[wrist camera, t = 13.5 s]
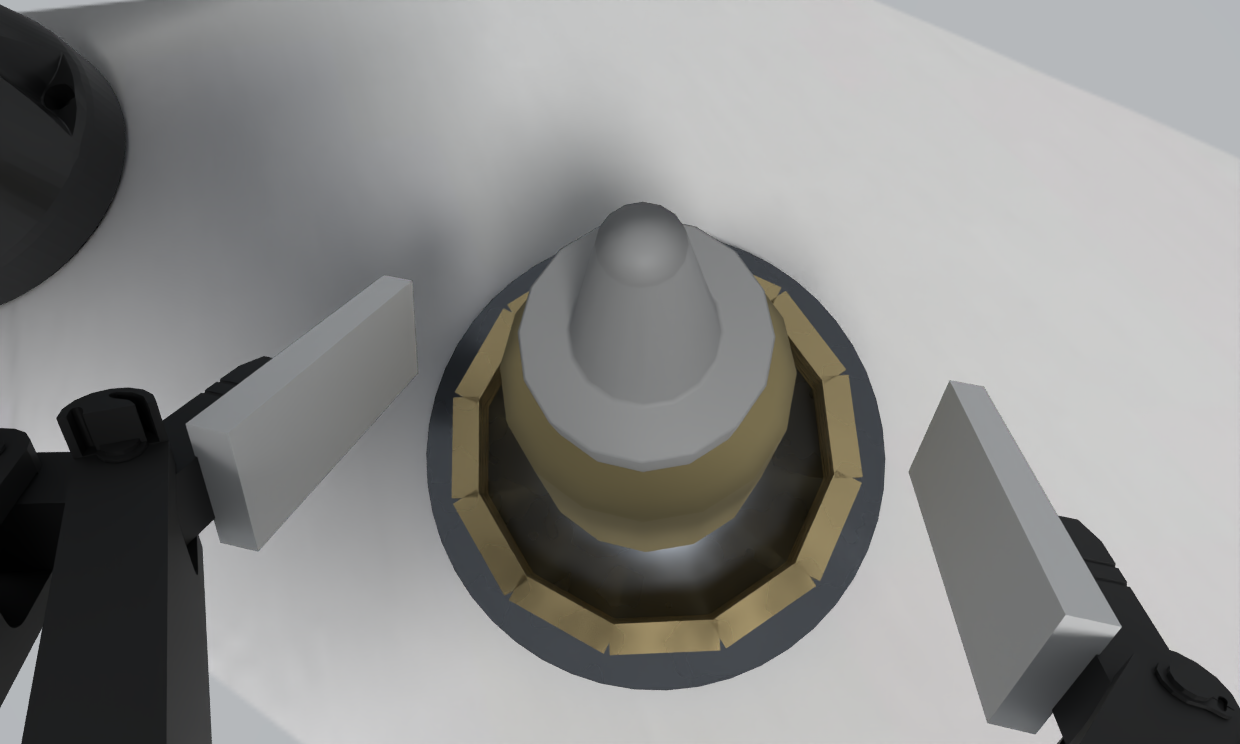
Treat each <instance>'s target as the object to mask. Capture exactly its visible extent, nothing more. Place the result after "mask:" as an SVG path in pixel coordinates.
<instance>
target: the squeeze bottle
mask: <svg viewBox="0 0 1240 744" xmlns="http://www.w3.org/2000/svg"><path fill="white" fill-rule="evenodd" d="M500 372H501V380H502V388H503V397H504V405H505V413H506V422H507V424H508V426H509V427H510V429H511V431H512V433H513V434H514V436H515V438H516V440H517V441H518V443H519V445H520V446H521V448H522V450H523V452H524V453H525V455H526V457H527V459H528V460H529V462H530V464H531V465H532V467H533V469H534V471H535V472H536V474H537V476H538V477H539V479H540V480H541V482H542V484H543V485H544V487H545V488H546V490H547V492H548V493H549V495H550V496H551V498H552V500H553V501H554V503H555V504H556V506H557V508H558V509H559V511H560V512H561V513H562V514H564V515H565V516H566V517H568V518H569V519H570V520H572V521H573V522H574V523H576V524H577V525H578V526H580V527H581V528H582V529H584V530H585V531H586V532H588V533H589V534H590V535H592V536H593V537H594V538H596V539H597V540H598V541H602V542H606V543H610V544H614V545H618V546H623V547H627V548H631V549H635V550H639V551H643V552H650V551H656V550H662V549H667V548H673V547H679V546H685V545H691V544H695V543H696V542H698V541H699V540H701V539H702V538H704V537H705V536H707V535H708V534H710V533H712V532H713V531H715V530H716V529H718V528H719V527H721V526H722V525H724V524H725V523H727V522H729V521H730V520H732V519H733V518H734V517H735V516H736V514H737V513H738V511H739V510H740V508H741V507H742V505H743V504H744V502H745V501H746V499H747V498H748V496H749V495H750V493H751V492H752V490H753V489H754V487H755V486H756V484H757V483H758V481H759V480H760V478H761V476H762V475H763V473H764V471H765V469H766V467H767V465H768V464H769V462H770V460H771V458H772V456H773V454H774V452H775V451H776V449H777V447H778V445H779V443H780V441H781V439H782V438H783V436H784V434H785V432H786V430H787V426H788V420H789V414H790V408H791V403H792V397H793V391H794V386H795V380H796V374H797V372H796V368H795V364H794V360H793V356H792V351H791V347H790V343H789V339H788V335H787V331H786V326H785V322H784V318H783V317H782V316H781V314H780V313H779V311H778V310H777V309H776V307H775V306H774V305H773V303H772V302H771V301H770V299H769V298H768V296H767V295H766V294H765V291H764V289H763V288H762V286H761V285H760V284H759V282H758V281H757V279H756V278H755V277H754V275H753V274H752V273H751V271H750V270H749V269H748V267H747V266H746V264H745V263H744V262H743V260H742V259H741V258H740V256H739V255H738V254H737V252H736V251H734V250H733V249H731V248H729V247H728V246H726V245H725V244H723V243H721V242H720V241H718V240H716V239H715V238H713V237H712V236H710V235H708V234H707V233H705V232H704V231H702V230H700V229H699V228H697V227H695V226H690V225H685V224H682V223H681V222H680V220H679V219H678V217H677V216H676V215H675V214H674V213H672V212H671V211H669V210H667V209H666V208H664V207H662V206H661V205H656V204H651V203H646V202H640V203H634V204H628V205H624V206H623V207H621V208H619V209H617V210H616V211H614V212H612V213H611V214H609V216H608V217H607V218H606V219H605V221H604V222H603V223H602V225H601V226H599V227H598V228H596V229H594V230H593V231H591V232H589V233H587V234H586V235H584V236H582V237H581V238H579V239H577V240H576V241H574V242H572V243H570V244H569V245H567V246H565V247H564V248H562V249H560V250H559V251H558V253H557V254H556V255H555V256H554V258H553V259H552V260H551V262H550V263H549V264H548V265H547V267H546V268H545V269H544V270H543V272H542V273H541V274H540V276H539V277H538V278H537V279H536V281H535V282H534V283H533V284H532V286H531V287H530V290H529V294H528V297H527V299H526V301H525V302H524V303H523V304H522V306H521V307H520V308H519V310H518V311H517V312H516V313H515V316H514V319H513V323H512V326H511V330H510V333H509V337H508V340H507V344H506V347H505V351H504V354H503V358H502V361H501V365H500Z"/></svg>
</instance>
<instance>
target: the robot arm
mask: <svg viewBox="0 0 1240 744" xmlns="http://www.w3.org/2000/svg"><path fill="white" fill-rule="evenodd" d="M124 155H125V126H124V120H123V115H122V111H121V108H120V105H119V102H118V100H117V98H116V95H115V93H114V92H113V90H112V88H111V86H110V85H109V83H108V82H107V81H106V79H105V78H104V77H103V76H102V74H101V73H100V72H99V71H98V70H97V69H96V68H95V67H94V66H93V65H92V64H90V63H89V62H88V61H87V60H86V59H84V58H83V57H82V56H81V55H80V54H78V53H77V52H76V51H75V50H74V49H72V48H71V47H70V46H69V45H68V44H66V43H65V42H64V41H63V40H62V39H60V38H59V37H58V36H57V35H55V34H54V33H53V32H51V31H49V30H48V29H46V28H45V27H43V26H42V25H40V24H39V23H37V22H35V21H33V20H31V19H29V18H28V17H25V16H23V15H21V14H19V13H17V12H15V11H12V10H10V9H8V8H6V7H4V6H2V5H0V305H2V304H4V303H7V302H9V301H11V300H13V299H15V298H17V297H19V296H21V295H22V294H24V293H26V292H27V291H29V290H31V289H32V288H34V287H35V286H37V285H38V284H40V283H41V282H43V281H44V280H46V279H47V278H48V277H49V276H51V275H52V274H53V273H55V272H56V271H57V270H58V269H59V268H60V267H62V266H63V265H64V264H65V263H66V262H67V261H68V260H69V259H70V258H71V257H72V256H73V255H74V254H75V253H76V252H77V251H78V250H79V249H80V247H81V246H82V245H83V244H84V243H85V242H86V240H87V239H88V238H89V237H90V235H91V234H92V233H93V231H94V230H95V228H96V227H97V225H98V224H99V222H100V221H101V219H102V217H103V216H104V214H105V212H106V210H107V208H108V207H109V205H110V203H111V200H112V198H113V196H114V194H115V191H116V188H117V185H118V183H119V179H120V176H121V172H122V167H123V162H124ZM417 374H418V366H417V349H416V332H415V316H414V299H413V282H412V280H408V279H402V278H397V277H392V276H386V275H383V276H382V277H380V278H379V279H378V280H376V281H375V282H374V283H372V284H371V285H370V286H368V287H367V288H366V289H364V290H363V291H362V292H360V293H359V294H358V295H356V296H355V297H354V298H352V299H351V300H350V301H348V302H347V303H346V304H344V305H343V306H342V307H340V308H339V309H338V310H336V311H335V312H334V313H332V314H331V315H330V316H328V317H327V318H326V319H324V320H323V321H322V322H320V323H319V324H318V325H316V326H315V327H314V328H312V329H311V330H310V331H308V332H307V333H306V334H304V335H303V336H302V337H300V338H299V339H298V340H296V341H295V342H294V343H292V344H291V345H290V346H288V347H287V348H286V349H284V350H283V351H282V352H281V353H279V354H278V355H277V356H275V357H274V358H270V357H265V356H263V357H260V358H258V359H255V360H253V361H250V362H248V363H245V364H243V365H240V366H238V367H237V368H235V369H234V370H233V371H231V372H230V373H228V374H227V375H226V376H224V377H223V378H221V379H220V382H216V383H214V384H213V385H212V386H210V387H209V388H207V389H206V390H205V393H200V394H199V395H198V396H196V397H195V398H194V399H192V400H191V401H189V402H188V403H187V404H185V405H184V406H182V407H181V408H180V409H178V410H177V411H175V412H174V413H173V414H171V415H170V416H168V417H167V418H166V419H164V420H163V421H162V418H161V415H160V412H159V409H158V406H157V403H156V400H155V398H154V396H153V394H151V393H149V392H147V391H145V390H143V389H135V388H116V389H108V390H103V391H99V392H95V393H91V394H89V395H86V396H84V397H81V398H79V399H77V400H74V401H73V402H72V403H70V404H69V405H67V406H66V407H64V408H63V409H62V410H61V412H60V413H59V415H58V416H57V418H56V419H57V421H58V424H59V426H60V429H61V431H62V433H63V436H64V438H65V440H66V443H67V445H68V447H69V450H70V452H38V453H36V451H35V449H34V447H33V445H32V442H31V440H30V438H29V437H28V435H27V434H26V433H25V432H22V431H20V430H17V429H9V428H0V707H1V705H2V703H3V701H4V699H5V697H6V696H7V694H8V692H9V690H10V688H11V686H12V684H13V682H14V680H15V678H16V677H17V674H18V672H19V671H20V669H21V667H22V665H23V663H24V661H25V659H26V657H27V656H28V653H29V652H30V650H31V648H32V646H33V644H34V642H35V640H36V638H37V637H38V635H39V633H40V631H41V629H42V633H41V639H40V644H39V650H38V655H37V661H36V667H35V672H34V677H33V683H32V688H31V694H30V699H29V705H28V710H27V716H26V721H25V727H24V732H23V737H22V743H21V744H212V740H211V739H212V737H211V716H210V696H209V675H208V654H207V633H206V612H205V591H204V570H203V549H202V544H201V541H200V538H199V535H198V534H199V533H200V532H201V531H202V530H203V529H204V528H205V527H206V526H207V525H209V524H210V523H211V522H212V521H213V520H214V522H215V525H216V529H217V532H218V536H219V539H220V542H221V543H225V544H229V545H233V546H237V547H242V548H246V549H250V550H254V551H259V550H260V549H261V548H262V547H263V546H264V544H265V543H266V542H267V541H268V540H269V539H270V538H271V537H272V536H273V534H274V533H275V532H276V531H277V530H278V529H279V528H280V527H281V525H282V524H283V523H284V522H285V521H286V520H287V519H288V518H289V517H290V515H291V514H292V513H293V512H294V511H295V510H296V509H297V508H298V507H299V505H300V504H301V503H302V502H303V501H304V500H305V499H306V498H307V496H308V495H309V494H310V493H311V492H312V491H313V490H314V489H315V488H316V486H317V485H318V484H319V483H320V482H321V481H322V480H323V479H324V478H325V476H326V475H327V474H328V473H329V472H330V471H331V470H332V469H333V467H334V466H335V465H336V464H337V463H338V462H339V461H340V460H341V459H342V457H343V456H344V455H345V454H346V453H347V452H348V451H349V450H350V449H351V447H352V446H353V445H354V444H355V443H356V442H357V441H358V440H359V438H360V437H361V436H362V435H363V434H364V433H365V432H366V431H367V430H368V428H369V427H370V426H371V425H372V424H373V423H374V422H375V421H376V420H377V418H378V417H379V416H380V415H381V414H382V413H383V412H384V411H385V409H386V408H387V407H388V406H389V405H390V404H391V403H392V402H393V401H394V399H395V398H396V397H397V396H398V395H399V394H400V393H401V392H402V391H403V389H404V388H405V387H406V386H407V385H408V384H409V383H410V382H411V380H412V379H413V378H414V377H415V376H416V375H417ZM909 475H910V478H911V481H912V484H913V487H914V491H915V494H916V497H917V500H918V503H919V507H920V510H921V513H922V516H923V519H924V522H925V526H926V529H927V532H928V535H929V538H930V542H931V545H932V548H933V551H934V554H935V558H936V561H937V564H938V567H939V570H940V573H941V577H942V580H943V583H944V586H945V589H946V593H947V596H948V599H949V602H950V605H951V608H952V612H953V615H954V618H955V621H956V624H957V628H958V631H959V634H960V637H961V640H962V643H963V647H964V650H965V653H966V656H967V659H968V663H969V666H970V669H971V672H972V675H973V679H974V682H975V685H976V688H977V691H978V694H979V698H980V701H981V704H982V707H983V710H984V714H985V717H986V720H987V723H990V724H994V725H998V726H1002V727H1007V728H1011V729H1015V730H1019V731H1023V732H1028V733H1032V734H1036V733H1037V732H1038V731H1039V729H1040V728H1041V727H1042V726H1043V724H1044V723H1045V722H1046V721H1047V719H1048V718H1049V717H1050V716H1051V714H1052V713H1053V714H1054V716H1055V719H1056V721H1057V724H1058V726H1059V729H1060V731H1061V734H1062V736H1063V737H1062V738H1061V740H1060V741H1059V742H1058V743H1057V744H1240V708H1239V706H1238V704H1237V702H1236V700H1235V699H1234V697H1233V695H1232V694H1231V693H1230V691H1229V690H1228V689H1227V688H1226V687H1225V686H1224V685H1223V684H1222V683H1221V682H1220V681H1219V680H1218V679H1217V678H1216V677H1215V676H1214V675H1212V674H1211V673H1210V672H1208V671H1207V670H1206V669H1204V668H1203V667H1202V666H1200V665H1199V664H1198V663H1196V662H1194V661H1192V660H1190V659H1189V658H1187V657H1185V656H1183V655H1181V654H1179V653H1177V652H1174V651H1171V650H1169V648H1168V647H1167V645H1166V644H1165V642H1164V640H1163V639H1162V637H1161V636H1160V634H1159V633H1158V631H1157V629H1156V628H1155V626H1154V625H1153V623H1152V621H1151V620H1150V618H1149V617H1148V615H1147V613H1146V612H1145V610H1144V609H1143V607H1142V605H1141V604H1140V602H1139V601H1138V599H1137V597H1136V596H1135V594H1134V593H1133V591H1132V589H1131V588H1130V587H1127V581H1126V580H1125V578H1124V577H1123V575H1122V573H1121V572H1120V570H1119V569H1118V568H1115V562H1114V561H1113V559H1112V557H1111V556H1110V554H1109V553H1108V551H1107V549H1106V548H1105V546H1104V545H1103V543H1102V542H1101V541H1100V540H1099V539H1098V538H1097V537H1096V536H1095V535H1094V534H1093V533H1092V532H1091V531H1090V530H1089V529H1087V528H1086V527H1085V526H1084V525H1083V524H1082V523H1081V522H1080V521H1079V520H1077V519H1072V518H1067V517H1062V516H1058V515H1057V513H1056V511H1055V510H1054V508H1053V506H1052V504H1051V503H1050V501H1049V499H1048V497H1047V496H1046V494H1045V492H1044V490H1043V489H1042V487H1041V485H1040V483H1039V482H1038V480H1037V478H1036V476H1035V475H1034V473H1033V471H1032V470H1031V468H1030V466H1029V464H1028V463H1027V461H1026V459H1025V457H1024V456H1023V454H1022V452H1021V450H1020V449H1019V447H1018V445H1017V443H1016V442H1015V440H1014V438H1013V436H1012V435H1011V433H1010V431H1009V429H1008V428H1007V426H1006V424H1005V422H1004V421H1003V419H1002V417H1001V415H1000V414H999V412H998V410H997V409H996V407H995V405H994V403H993V402H992V400H991V398H990V396H989V395H988V393H987V391H986V389H985V388H984V387H983V386H978V385H972V384H967V383H962V382H956V381H951V380H950V381H949V383H948V385H947V387H946V390H945V392H944V394H943V396H942V399H941V401H940V403H939V405H938V407H937V410H936V412H935V414H934V416H933V419H932V421H931V423H930V425H929V427H928V430H927V432H926V434H925V436H924V439H923V441H922V443H921V445H920V447H919V450H918V452H917V454H916V456H915V459H914V461H913V463H912V465H911V468H910V470H909ZM42 627H43V628H42Z"/></svg>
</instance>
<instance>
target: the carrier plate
mask: <svg viewBox="0 0 1240 744" xmlns="http://www.w3.org/2000/svg"><path fill="white" fill-rule="evenodd" d="M721 243H722V242H721ZM723 244H724V243H723ZM725 245H726V246H728V247H729V248H731V249H733V250H734V251H736V252H737V254H738V255H739V256H740V258H741V259H742V260H743V262H744V263H745V264H746V266H747V267H748V269H749V270H750V271H751V273H752V274H753V275H754V277H755V278H756V279H757V281H758V282H759V284H760V285H761V286H762V288H763V289H764V291H765V294H766V295H767V296H768V298H769V299H770V301H771V302H772V303H773V305H774V306H775V307H776V309H777V310H778V311H779V313H780V314H781V316H782V317H783V318H784V322H785V326H786V331H787V335H788V339H789V343H790V347H791V351H792V356H793V360H794V364H795V368H796V372H797V374H796V380H795V386H794V391H793V397H792V403H791V408H790V414H789V420H788V426H787V430H786V432H785V434H784V436H783V438H782V439H781V441H780V443H779V445H778V447H777V449H776V451H775V452H774V454H773V456H772V458H771V460H770V462H769V464H768V465H767V467H766V469H765V471H764V473H763V475H762V476H761V478H760V480H759V481H758V483H757V484H756V486H755V487H754V489H753V490H752V492H751V493H750V495H749V496H748V498H747V499H746V501H745V502H744V504H743V505H742V507H741V508H740V510H739V511H738V513H737V514H736V516H735V517H734V518H733V519H732V520H730V521H729V522H727V523H725V524H724V525H722V526H721V527H719V528H718V529H716V530H715V531H713V532H712V533H710V534H708V535H707V536H705V537H704V538H702V539H701V540H699V541H698V542H696V543H695V544H691V545H685V546H679V547H673V548H667V549H662V550H656V551H650V552H643V551H639V550H635V549H631V548H627V547H623V546H618V545H614V544H610V543H606V542H602V541H598V540H597V539H596V538H594V537H593V536H592V535H590V534H589V533H588V532H586V531H585V530H584V529H582V528H581V527H580V526H578V525H577V524H576V523H574V522H573V521H572V520H570V519H569V518H568V517H566V516H565V515H564V514H562V513H561V512H560V511H559V509H558V508H557V506H556V504H555V503H554V501H553V500H552V498H551V496H550V495H549V493H548V492H547V490H546V488H545V487H544V485H543V484H542V482H541V480H540V479H539V477H538V476H537V474H536V472H535V471H534V469H533V467H532V465H531V464H530V462H529V460H528V459H527V457H526V455H525V453H524V452H523V450H522V448H521V446H520V445H519V443H518V441H517V440H516V438H515V436H514V434H513V433H512V431H511V429H510V427H509V426H508V424H507V422H506V413H505V405H504V397H503V388H502V380H501V372H500V365H501V361H502V358H503V354H504V351H505V347H506V344H507V340H508V337H509V333H510V330H511V326H512V323H513V319H514V316H515V313H516V312H517V311H518V310H519V308H520V307H521V306H522V304H523V303H524V302H525V301H526V299H527V297H528V294H529V290H530V287H531V286H532V284H533V283H534V282H535V281H536V279H537V278H538V277H539V276H540V274H541V273H542V272H543V270H544V269H545V268H546V267H547V265H548V264H549V263H550V262H551V260H552V259H553V258H554V256H553V257H551V258H549V259H547V260H545V261H543V262H541V263H539V264H538V265H536V266H534V267H533V268H531V269H530V270H528V271H527V272H526V273H524V274H523V275H521V276H520V277H518V278H517V279H515V280H514V281H513V282H511V283H510V284H509V285H508V286H507V287H506V288H505V289H504V290H503V291H501V292H500V293H499V294H498V295H497V296H496V297H495V298H494V299H492V301H491V302H490V303H489V304H488V305H487V306H486V307H485V309H484V310H483V311H482V312H481V313H480V314H479V315H478V317H477V318H476V319H475V320H474V321H473V323H472V324H471V326H470V327H469V329H468V330H467V332H466V333H465V334H464V336H463V337H462V339H461V340H460V342H459V343H458V345H457V347H456V349H455V351H454V353H453V355H452V357H451V359H450V361H449V363H448V365H447V367H446V369H445V371H444V374H443V377H442V379H441V382H440V385H439V388H438V391H437V393H436V396H435V401H434V405H433V410H432V414H431V419H430V423H429V432H428V443H427V479H428V488H429V494H430V500H431V506H432V512H433V516H434V519H435V522H436V525H437V529H438V532H439V535H440V538H441V541H442V544H443V546H444V548H445V550H446V552H447V555H448V557H449V559H450V561H451V563H452V565H453V568H454V570H455V571H456V573H457V575H458V576H459V578H460V579H461V581H462V582H463V584H464V586H465V587H466V589H467V590H468V592H469V593H470V595H471V596H472V598H473V599H474V600H475V601H476V602H477V604H478V605H479V606H480V607H481V608H482V609H483V611H484V612H485V613H486V614H487V615H488V616H489V618H490V619H491V620H492V621H493V622H494V623H495V624H496V625H498V626H499V627H500V628H501V629H502V630H503V631H504V632H505V633H506V634H508V635H509V636H510V637H511V638H512V639H513V640H514V641H515V642H517V643H518V644H520V645H521V646H523V647H524V648H526V649H527V650H529V651H530V652H532V653H533V654H535V655H536V656H538V657H539V658H541V659H542V660H544V661H546V662H548V663H550V664H552V665H554V666H556V667H559V668H561V669H563V670H565V671H567V672H569V673H571V674H574V675H577V676H580V677H583V678H586V679H589V680H592V681H595V682H598V683H602V684H607V685H613V686H618V687H624V688H630V689H643V690H673V689H682V688H691V687H699V686H703V685H707V684H711V683H715V682H719V681H722V680H726V679H730V678H733V677H735V676H737V675H740V674H742V673H745V672H747V671H749V670H752V669H754V668H756V667H759V666H761V665H763V664H764V663H766V662H768V661H769V660H771V659H773V658H774V657H776V656H778V655H779V654H781V653H783V652H784V651H786V650H788V649H789V648H790V647H792V646H793V645H794V644H795V643H797V642H798V641H799V640H800V639H801V638H803V637H804V636H805V635H806V634H808V633H809V632H810V631H811V630H813V629H814V628H815V627H816V626H817V624H818V623H819V622H820V621H821V620H822V619H823V618H824V617H825V616H826V615H827V614H828V613H829V611H830V610H831V609H832V608H833V607H834V606H835V605H836V603H837V602H838V601H839V599H840V598H841V596H842V595H843V593H844V592H845V590H846V589H847V588H848V586H849V585H850V583H851V582H852V580H853V579H854V577H855V575H856V573H857V571H858V569H859V567H860V565H861V563H862V561H863V559H864V557H865V555H866V553H867V551H868V548H869V545H870V542H871V539H872V536H873V533H874V530H875V527H876V524H877V521H878V517H879V511H880V506H881V501H882V496H883V490H884V472H885V451H884V439H883V428H882V424H881V419H880V414H879V410H878V405H877V401H876V397H875V395H874V392H873V389H872V386H871V384H870V381H869V378H868V375H867V372H866V370H865V368H864V366H863V364H862V362H861V360H860V358H859V357H858V355H857V353H856V351H855V349H854V347H853V345H852V343H851V342H850V341H849V339H848V338H847V336H846V335H845V333H844V332H843V330H842V329H841V327H840V326H839V324H838V323H837V322H836V320H835V319H834V318H833V317H832V316H831V315H830V314H829V312H828V311H827V310H826V309H825V308H824V307H823V306H822V305H821V303H820V302H819V301H818V300H817V299H816V298H815V297H814V296H812V295H811V294H810V293H809V292H808V291H807V290H806V289H804V288H803V287H802V286H801V285H800V284H799V283H798V282H796V281H795V280H794V279H792V278H791V277H789V276H788V275H786V274H785V273H784V272H782V271H781V270H779V269H778V268H776V267H775V266H773V265H772V264H770V263H768V262H766V261H764V260H762V259H760V258H758V257H756V256H754V255H752V254H750V253H748V252H746V251H743V250H741V249H738V248H735V247H733V246H730V245H727V244H725Z"/></svg>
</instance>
